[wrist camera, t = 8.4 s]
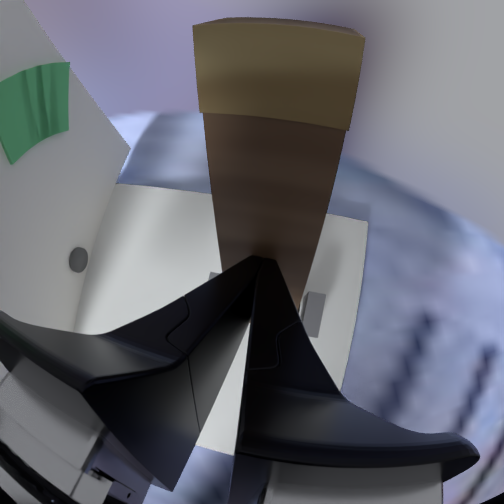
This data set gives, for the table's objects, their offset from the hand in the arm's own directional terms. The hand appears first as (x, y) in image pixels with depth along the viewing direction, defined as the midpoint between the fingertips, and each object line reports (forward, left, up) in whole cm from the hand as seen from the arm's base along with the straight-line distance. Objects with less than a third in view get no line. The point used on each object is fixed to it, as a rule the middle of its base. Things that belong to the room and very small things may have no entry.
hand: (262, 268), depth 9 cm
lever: (-1, +1, -5) cm, 5 cm away
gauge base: (+2, +4, -7) cm, 9 cm away
